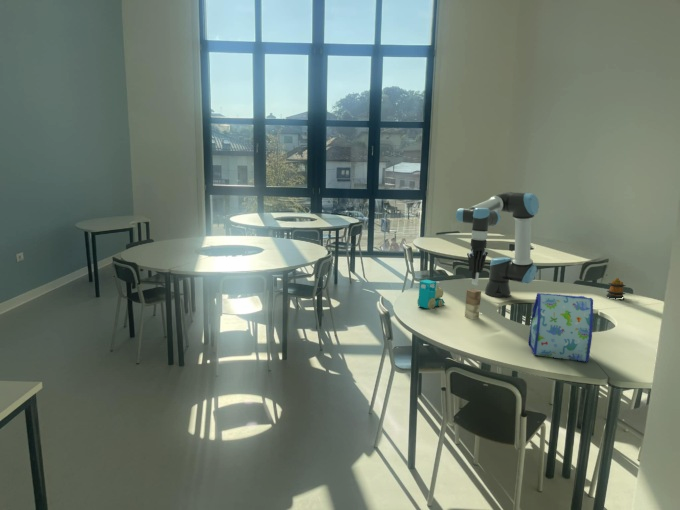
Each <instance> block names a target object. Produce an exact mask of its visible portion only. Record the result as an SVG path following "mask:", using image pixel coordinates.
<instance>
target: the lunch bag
mask: <svg viewBox="0 0 680 510" xmlns="http://www.w3.org/2000/svg"><path fill="white" fill-rule="evenodd" d="M593 320H594V299H593V298H592V297H587V296H584V295H583V296H582V295H580V296H579V295H578V296H576V295H566V294H564V295H563V294H558V293H557V294H552V293H540V292H537V293H536V297H535V301H534V304H533V307H532V316H531V321H530V326H529V327H530V328H529V329H530V330H529V336H528V346H529V347H530V348H531V351H532V353H533V356H534V355H536V356H539V357H540V356H541V357H546V358H553V357H554V358H555V359H561V358H563V360H569V359H571V360H570V361H577V360H578V361H577V362H585V361H586V362H585V363H588V362H589V358H590V352H591V347H592V341H593V323H594V321H593Z"/></svg>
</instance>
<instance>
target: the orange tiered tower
mask: <svg viewBox="0 0 680 510" xmlns="http://www.w3.org/2000/svg"><path fill="white" fill-rule="evenodd" d="M614 279H615V280H612V281H611V282H609V283H608V285H610V287H609V289H608V290H606V292H607V293H606V296H607V297H609V298H608V299H610V298H615V299H616V298H622V297H624V295H626V292H624V287H627V286H626V285H625V284H624V282H623V281H621V280H619V279H620V278H618V277H616V278H614ZM607 297H606V298H607ZM624 298H625V297H624Z"/></svg>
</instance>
